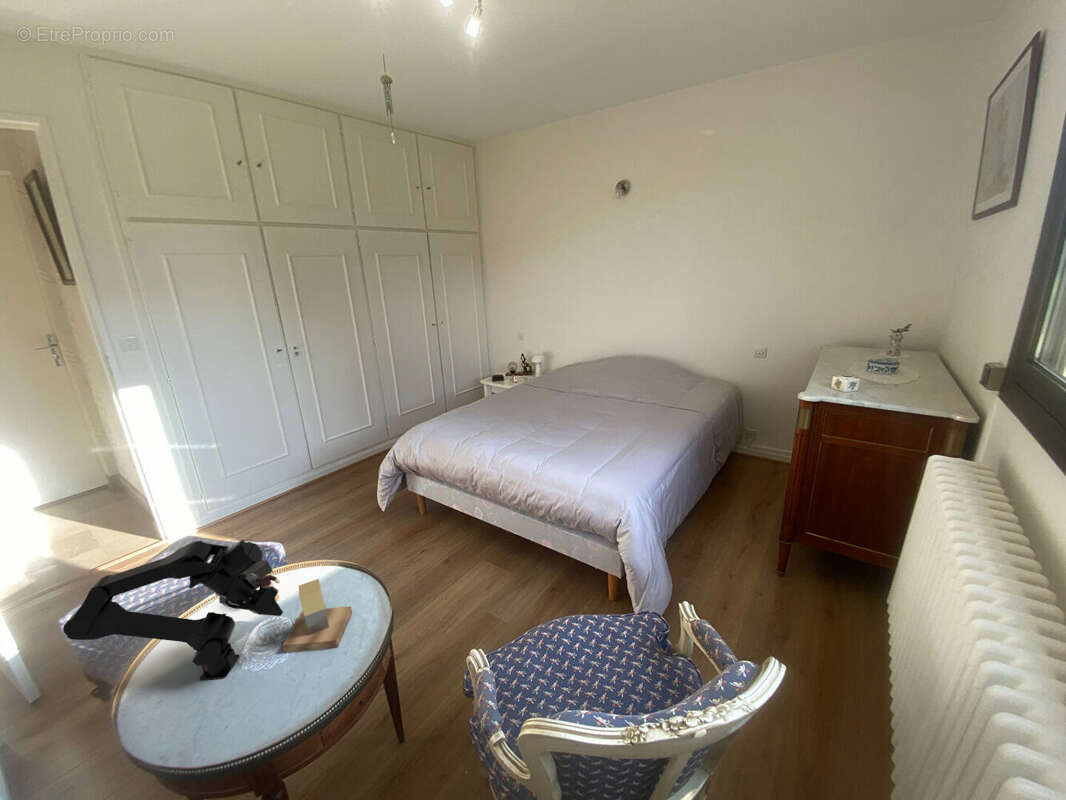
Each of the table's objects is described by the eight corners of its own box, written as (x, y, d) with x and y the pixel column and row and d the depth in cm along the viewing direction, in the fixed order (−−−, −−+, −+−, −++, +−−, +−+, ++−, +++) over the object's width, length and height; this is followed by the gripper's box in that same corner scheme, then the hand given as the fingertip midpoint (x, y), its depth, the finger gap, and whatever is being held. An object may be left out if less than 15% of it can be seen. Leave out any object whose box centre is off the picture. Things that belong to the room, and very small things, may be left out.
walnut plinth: (285, 652, 115) (283, 645, 114) (304, 617, 127) (302, 610, 126) (338, 647, 116) (336, 640, 115) (352, 612, 127) (350, 606, 127)
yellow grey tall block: (309, 635, 117) (299, 597, 113) (308, 622, 121) (298, 585, 117) (329, 627, 120) (319, 589, 116) (327, 615, 124) (318, 578, 120)
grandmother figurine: (279, 591, 137) (270, 558, 134) (285, 596, 135) (276, 563, 131) (253, 606, 132) (243, 573, 128) (259, 612, 129) (248, 577, 125)
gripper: (269, 554, 107) (312, 586, 115) (232, 550, 116) (274, 580, 125) (234, 598, 99) (283, 628, 108) (198, 589, 109) (245, 618, 117)
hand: (271, 611), depth 114 cm, fingers open, 9 cm apart
